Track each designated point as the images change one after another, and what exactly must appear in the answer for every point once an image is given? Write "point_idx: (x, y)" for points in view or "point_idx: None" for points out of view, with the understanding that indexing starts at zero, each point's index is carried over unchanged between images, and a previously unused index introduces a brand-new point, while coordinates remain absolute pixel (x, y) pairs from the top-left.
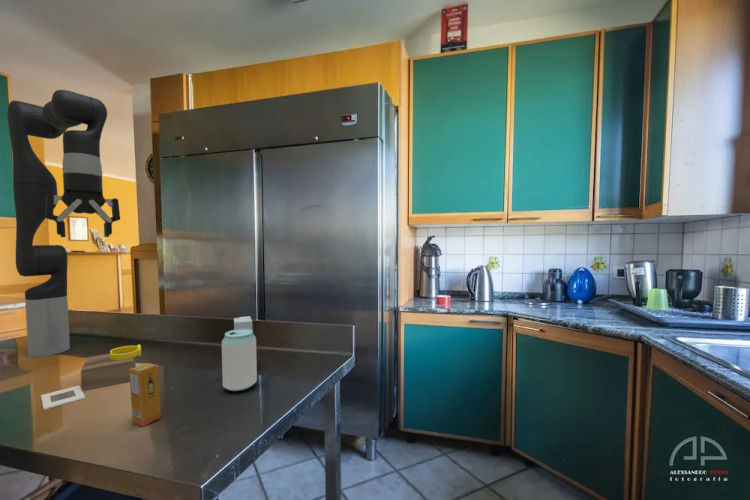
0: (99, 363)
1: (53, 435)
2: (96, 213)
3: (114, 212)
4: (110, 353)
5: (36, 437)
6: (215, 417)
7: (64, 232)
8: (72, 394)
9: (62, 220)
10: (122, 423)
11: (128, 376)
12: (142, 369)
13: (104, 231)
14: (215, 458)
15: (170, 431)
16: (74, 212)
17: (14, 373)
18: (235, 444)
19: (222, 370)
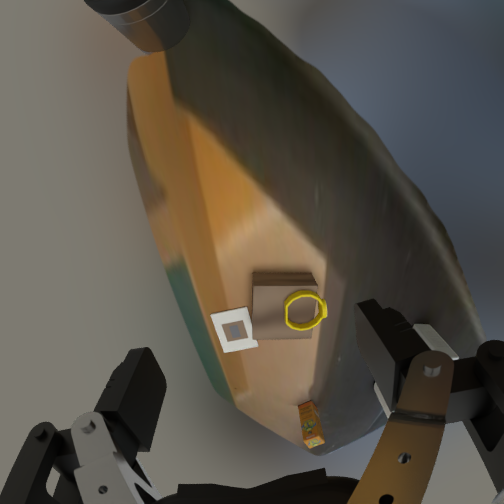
0: (271, 326)
1: (245, 397)
2: (376, 449)
3: (481, 454)
4: (286, 321)
5: (233, 394)
6: (348, 417)
7: (159, 402)
8: (244, 333)
9: (138, 462)
10: (291, 403)
11: None
12: (312, 446)
13: (367, 331)
14: (331, 447)
15: None
16: (174, 498)
17: (147, 190)
18: (344, 441)
19: (379, 395)
